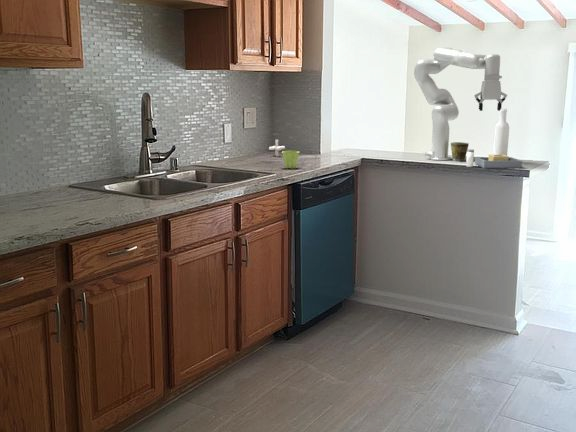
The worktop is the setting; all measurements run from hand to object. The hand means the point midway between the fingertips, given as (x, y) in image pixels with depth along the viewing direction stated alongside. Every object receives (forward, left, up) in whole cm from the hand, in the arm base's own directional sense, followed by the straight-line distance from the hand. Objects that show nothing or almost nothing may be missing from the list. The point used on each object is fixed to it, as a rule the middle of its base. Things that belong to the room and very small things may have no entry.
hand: (489, 110), depth 337 cm
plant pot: (-108, -11, -30) cm, 113 cm away
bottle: (+11, +11, -30) cm, 33 cm away
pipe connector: (-116, +39, -30) cm, 126 cm away
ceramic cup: (-11, +17, -30) cm, 36 cm away
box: (+4, -7, -29) cm, 31 cm away
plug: (-11, -6, -30) cm, 32 cm away
